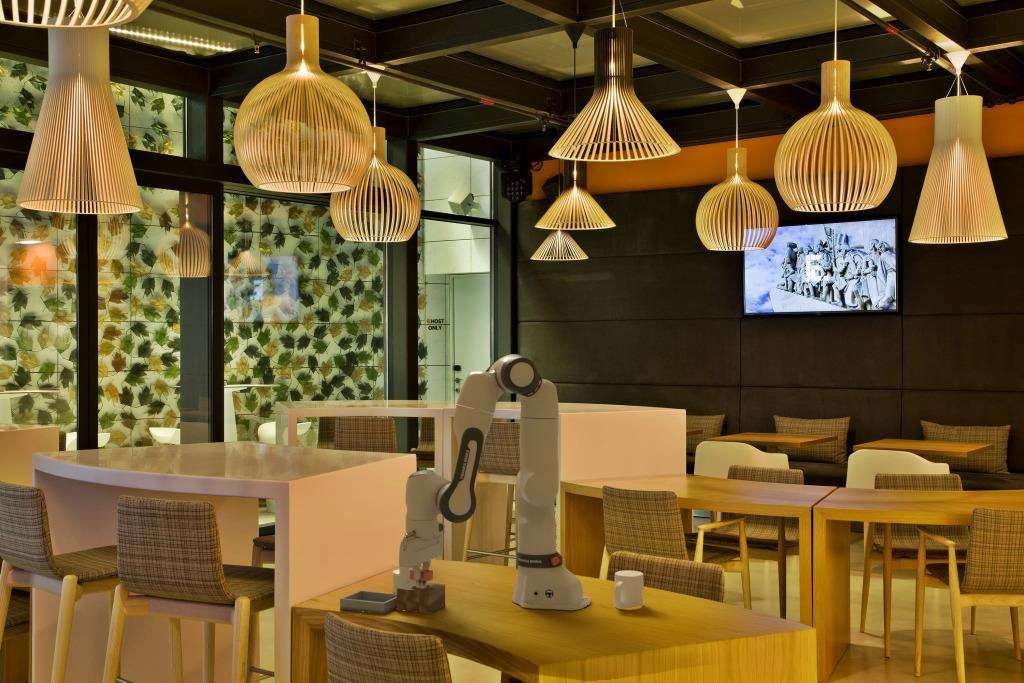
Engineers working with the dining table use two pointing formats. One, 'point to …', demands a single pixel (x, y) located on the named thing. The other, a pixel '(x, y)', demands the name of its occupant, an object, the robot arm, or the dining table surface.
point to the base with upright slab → (401, 578)
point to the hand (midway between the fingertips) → (421, 577)
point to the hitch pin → (426, 576)
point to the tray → (369, 602)
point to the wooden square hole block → (420, 597)
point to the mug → (628, 589)
